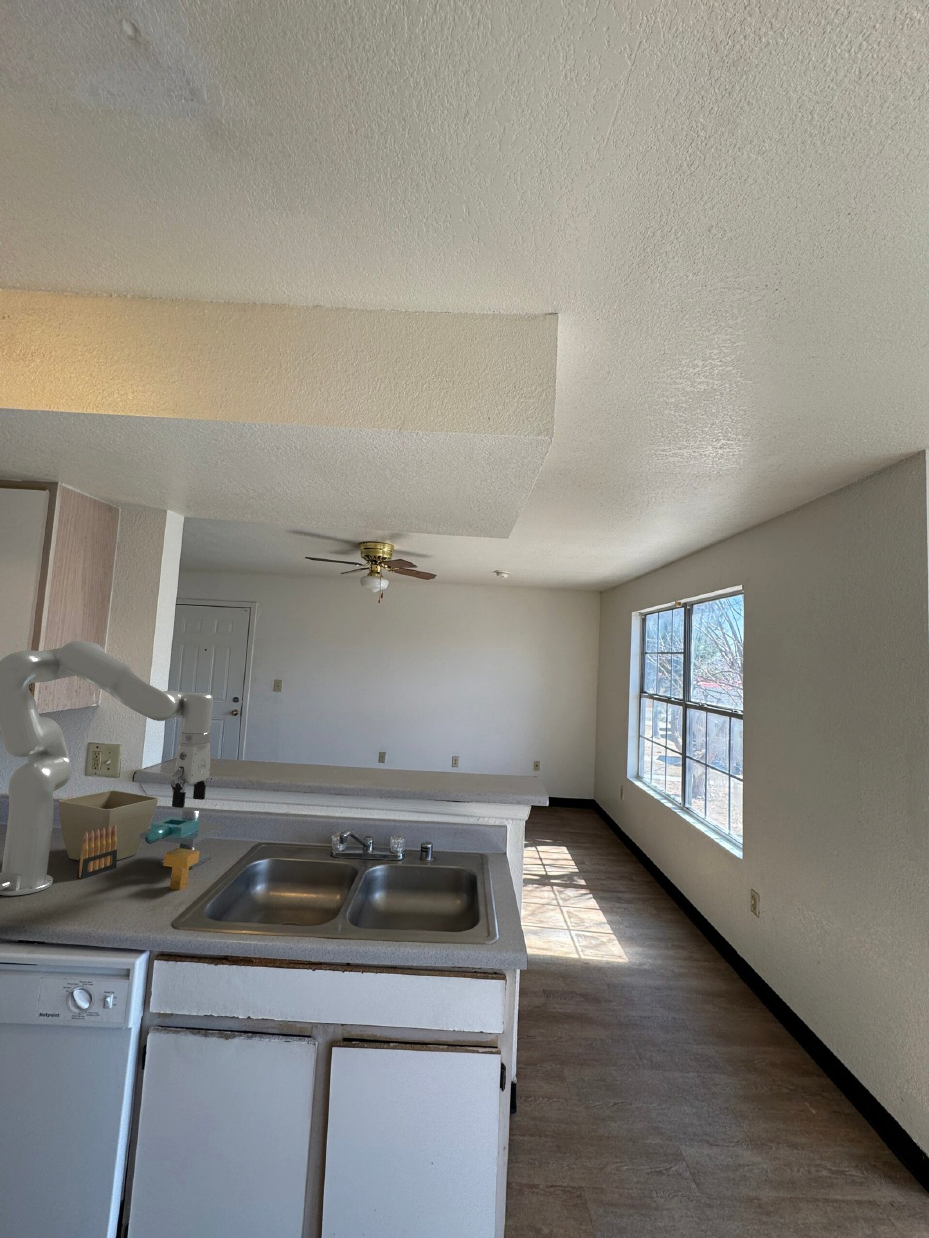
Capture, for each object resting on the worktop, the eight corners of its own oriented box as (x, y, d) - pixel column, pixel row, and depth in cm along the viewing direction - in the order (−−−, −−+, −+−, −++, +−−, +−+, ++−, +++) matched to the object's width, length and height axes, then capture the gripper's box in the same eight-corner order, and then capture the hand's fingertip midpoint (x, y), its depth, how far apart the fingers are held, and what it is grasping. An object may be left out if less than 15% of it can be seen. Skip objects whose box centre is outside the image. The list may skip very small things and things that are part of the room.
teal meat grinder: (172, 852, 188) (178, 803, 189) (221, 858, 186) (226, 808, 187) (117, 880, 163) (123, 823, 164) (172, 887, 161) (179, 829, 162)
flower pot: (106, 843, 192) (112, 788, 193) (154, 853, 186) (160, 797, 187) (49, 860, 174) (56, 800, 175) (100, 872, 168) (107, 809, 169)
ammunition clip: (81, 879, 162) (85, 832, 163) (76, 878, 163) (80, 831, 164) (116, 867, 172) (120, 824, 173) (111, 866, 173) (115, 823, 174)
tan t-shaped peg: (195, 884, 164) (199, 850, 165) (183, 892, 159) (187, 856, 159) (173, 881, 165) (177, 847, 166) (160, 889, 159) (164, 854, 160)
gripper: (189, 743, 156) (183, 812, 154) (224, 736, 173) (218, 797, 172) (162, 741, 157) (155, 809, 155) (199, 734, 174) (193, 795, 172)
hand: (188, 803), depth 163 cm, fingers open, 9 cm apart
